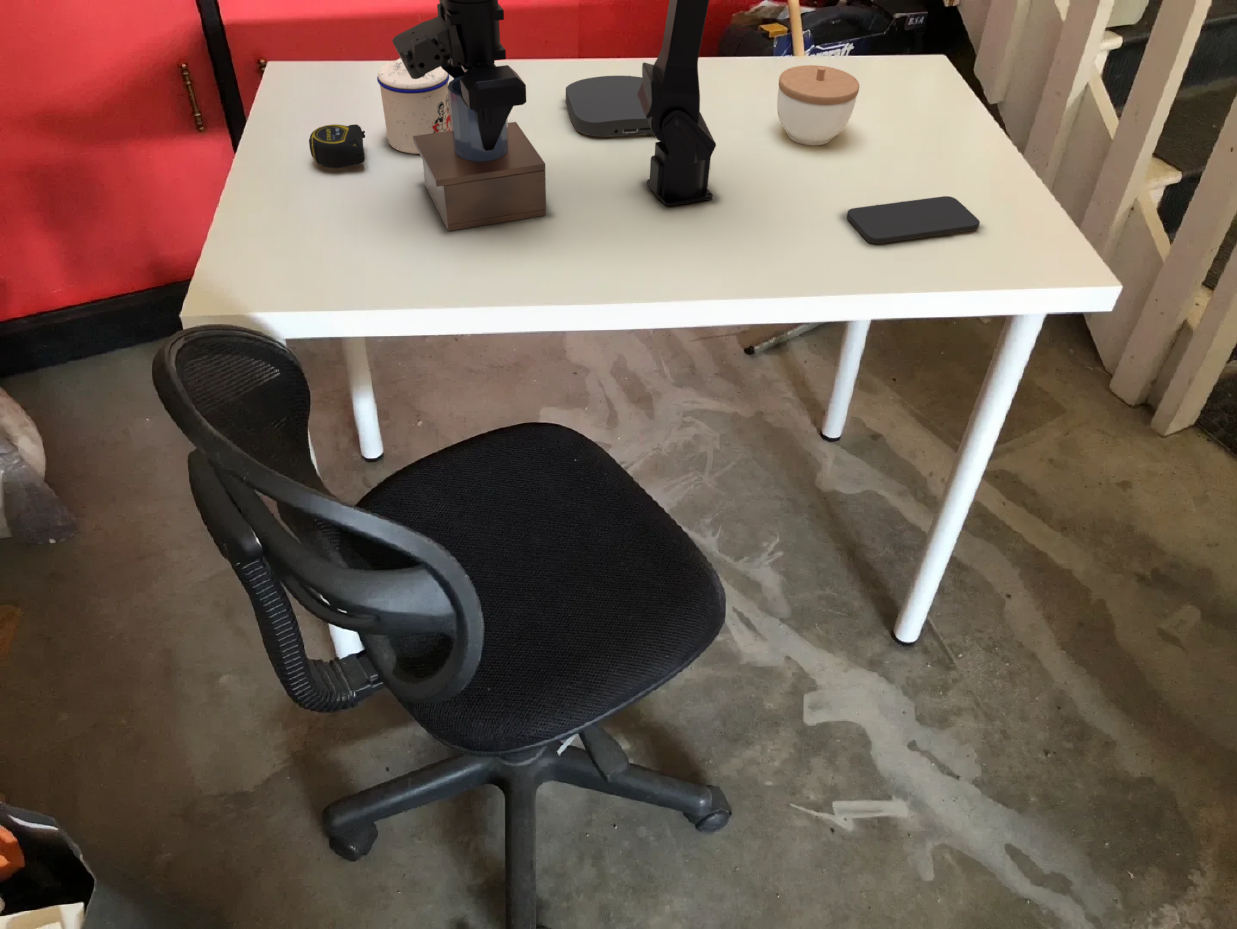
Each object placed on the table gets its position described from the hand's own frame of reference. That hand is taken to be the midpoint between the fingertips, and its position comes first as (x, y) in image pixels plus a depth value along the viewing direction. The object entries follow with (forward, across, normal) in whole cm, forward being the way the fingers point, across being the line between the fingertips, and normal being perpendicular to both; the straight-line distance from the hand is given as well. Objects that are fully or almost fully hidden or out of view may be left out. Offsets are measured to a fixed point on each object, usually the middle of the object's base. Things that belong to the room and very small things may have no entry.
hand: (480, 136), depth 109 cm
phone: (+8, +21, +48) cm, 53 cm away
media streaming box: (+8, -18, +25) cm, 31 cm away
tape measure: (+8, -16, -14) cm, 23 cm away
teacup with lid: (+8, -20, -3) cm, 22 cm away
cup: (+2, 0, 0) cm, 2 cm away
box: (+8, 0, 0) cm, 8 cm away
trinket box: (+8, -4, +48) cm, 49 cm away
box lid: (+2, 0, 0) cm, 2 cm away
